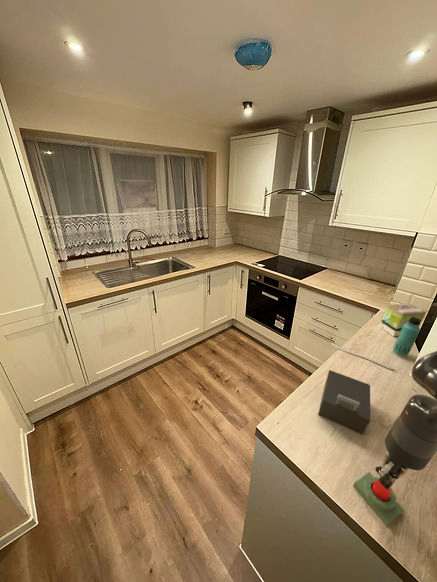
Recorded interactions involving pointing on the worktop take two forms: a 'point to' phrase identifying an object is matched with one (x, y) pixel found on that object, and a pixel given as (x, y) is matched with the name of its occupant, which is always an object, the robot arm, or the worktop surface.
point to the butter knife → (363, 356)
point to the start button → (381, 491)
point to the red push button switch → (382, 508)
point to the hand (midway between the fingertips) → (384, 483)
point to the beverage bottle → (407, 337)
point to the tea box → (399, 317)
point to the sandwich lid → (347, 396)
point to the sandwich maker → (341, 417)
